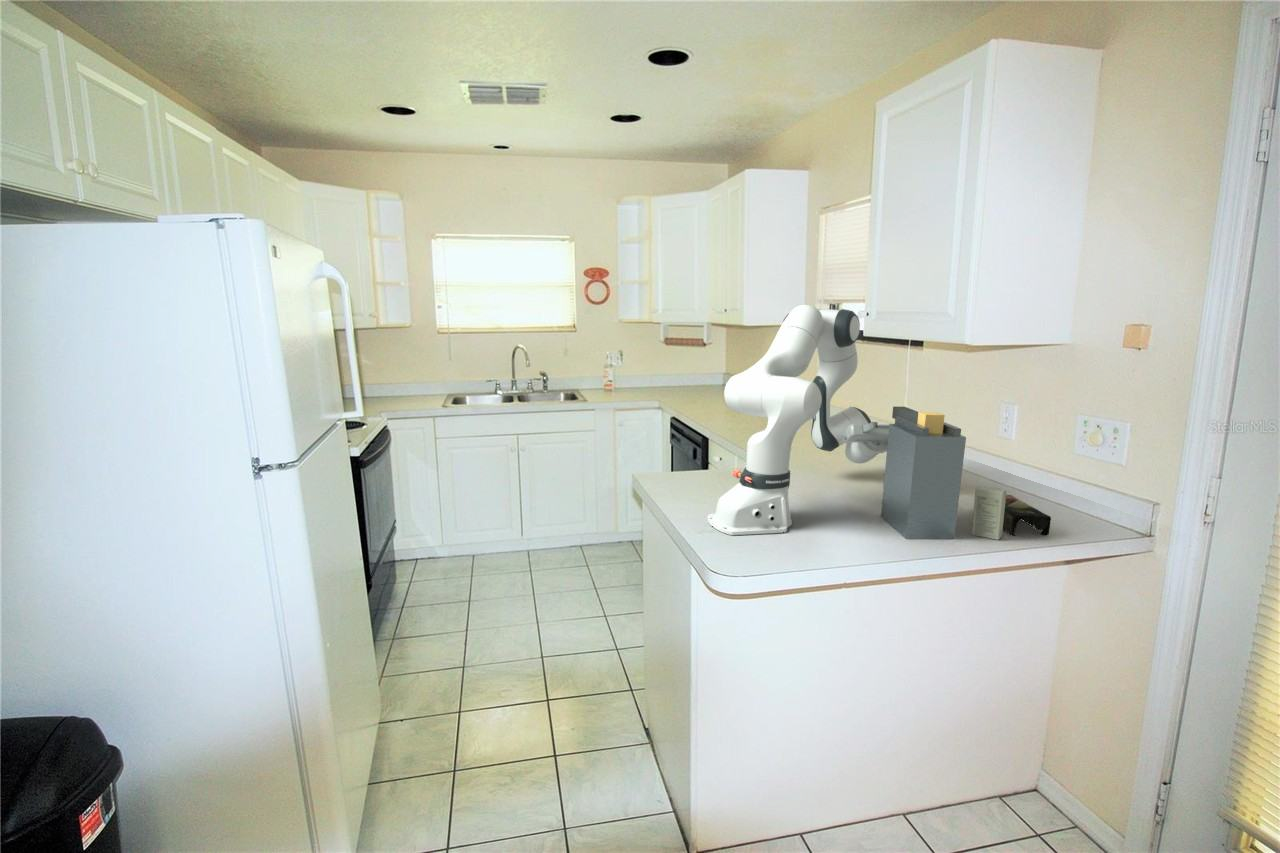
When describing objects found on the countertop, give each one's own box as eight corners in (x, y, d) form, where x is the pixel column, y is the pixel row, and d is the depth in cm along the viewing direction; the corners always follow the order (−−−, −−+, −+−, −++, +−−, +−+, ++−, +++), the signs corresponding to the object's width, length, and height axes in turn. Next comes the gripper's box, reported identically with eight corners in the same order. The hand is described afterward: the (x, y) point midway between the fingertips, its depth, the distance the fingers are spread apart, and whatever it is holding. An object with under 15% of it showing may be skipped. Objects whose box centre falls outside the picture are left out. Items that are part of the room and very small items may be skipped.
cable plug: (889, 417, 171) (891, 401, 170) (906, 417, 171) (907, 401, 170) (923, 433, 150) (925, 414, 149) (942, 433, 150) (944, 415, 150)
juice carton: (972, 510, 174) (975, 490, 173) (1007, 512, 173) (1011, 491, 172) (1010, 537, 154) (1013, 514, 153) (1050, 539, 154) (1054, 516, 153)
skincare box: (1002, 536, 154) (1008, 489, 152) (998, 540, 151) (1004, 493, 149) (974, 529, 158) (979, 484, 156) (969, 534, 155) (975, 488, 153)
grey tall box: (880, 516, 167) (890, 416, 162) (924, 517, 167) (935, 416, 162) (905, 538, 152) (917, 428, 146) (954, 539, 152) (967, 428, 146)
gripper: (838, 429, 189) (854, 413, 176) (904, 430, 189) (925, 414, 176) (840, 448, 187) (856, 434, 174) (907, 449, 187) (928, 435, 174)
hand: (891, 424), depth 175 cm, fingers open, 8 cm apart
